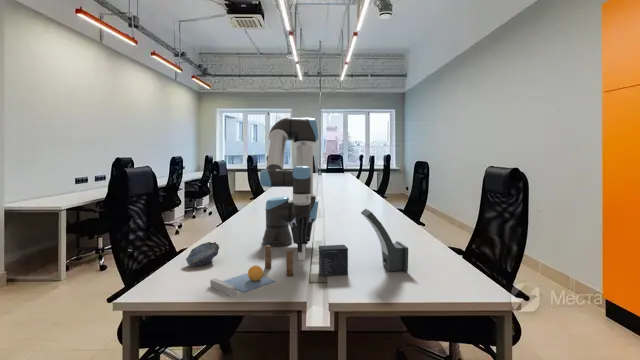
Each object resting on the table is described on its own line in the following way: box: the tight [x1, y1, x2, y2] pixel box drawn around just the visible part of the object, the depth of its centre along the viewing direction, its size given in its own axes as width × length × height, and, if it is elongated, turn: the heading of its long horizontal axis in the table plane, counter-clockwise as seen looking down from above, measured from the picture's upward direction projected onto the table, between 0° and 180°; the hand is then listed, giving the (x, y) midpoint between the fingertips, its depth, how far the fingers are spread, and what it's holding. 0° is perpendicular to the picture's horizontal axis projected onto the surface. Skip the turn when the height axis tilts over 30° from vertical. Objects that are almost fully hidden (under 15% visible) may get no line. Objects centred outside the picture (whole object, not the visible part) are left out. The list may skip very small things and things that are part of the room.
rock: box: [185, 241, 220, 267], centre depth 152 cm, size 16×8×10 cm
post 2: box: [285, 250, 294, 277], centre depth 138 cm, size 3×3×9 cm
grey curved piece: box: [360, 208, 409, 273], centre depth 145 cm, size 11×17×24 cm, turn 100°
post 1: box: [264, 245, 272, 270], centre depth 146 cm, size 3×3×9 cm
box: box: [318, 244, 349, 277], centre depth 140 cm, size 11×7×10 cm, turn 100°
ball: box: [247, 265, 264, 281], centre depth 132 cm, size 6×6×6 cm
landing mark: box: [222, 272, 276, 293], centre depth 131 cm, size 14×14×1 cm
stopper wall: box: [209, 277, 237, 297], centre depth 123 cm, size 12×2×2 cm, turn 49°
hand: (301, 259), depth 152 cm, fingers closed
